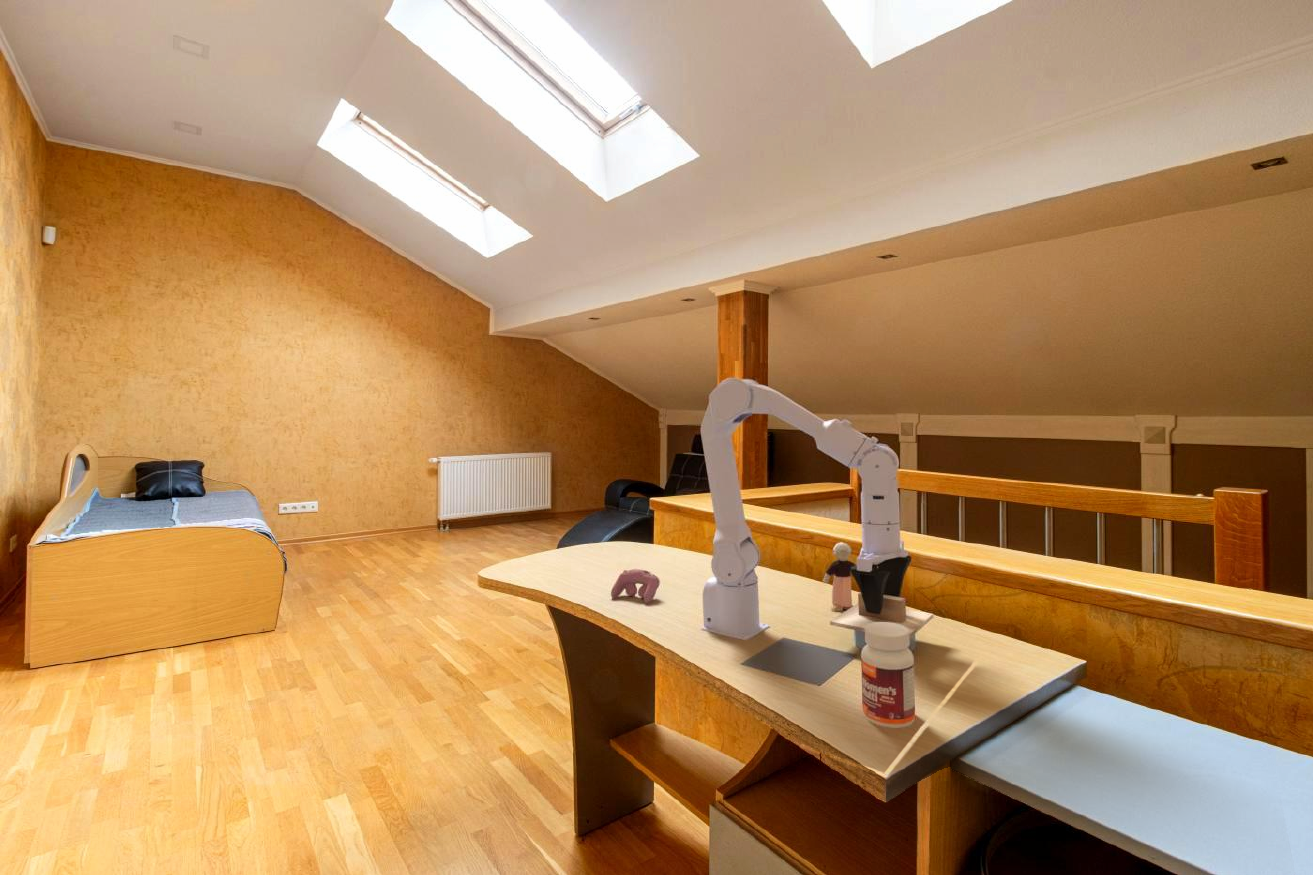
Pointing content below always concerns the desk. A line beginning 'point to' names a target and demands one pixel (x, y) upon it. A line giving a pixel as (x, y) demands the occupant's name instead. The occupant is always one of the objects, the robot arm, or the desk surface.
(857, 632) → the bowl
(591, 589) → the desk surface
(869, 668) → the pill bottle
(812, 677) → the mat
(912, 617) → the lid
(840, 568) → the grandmother figurine
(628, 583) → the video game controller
